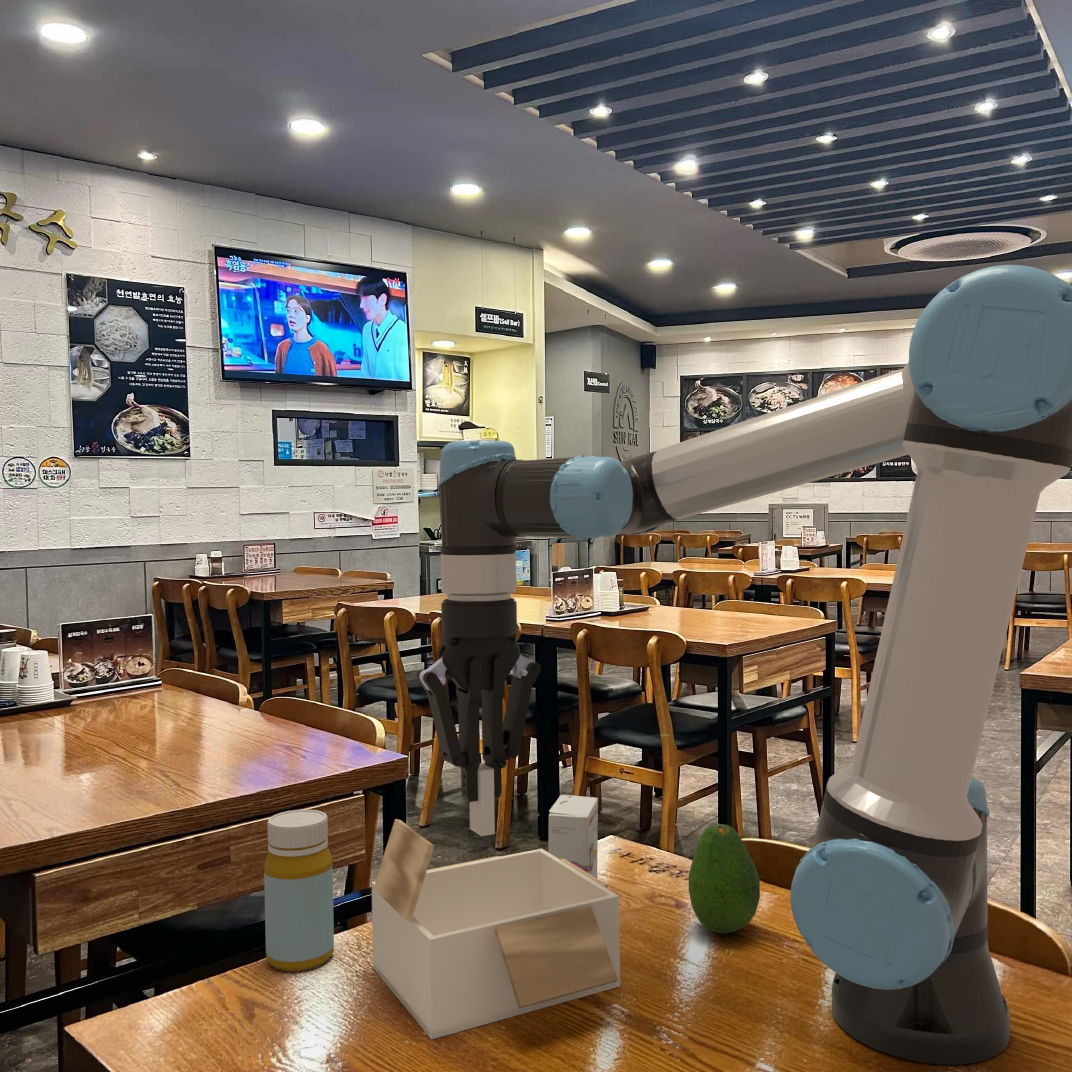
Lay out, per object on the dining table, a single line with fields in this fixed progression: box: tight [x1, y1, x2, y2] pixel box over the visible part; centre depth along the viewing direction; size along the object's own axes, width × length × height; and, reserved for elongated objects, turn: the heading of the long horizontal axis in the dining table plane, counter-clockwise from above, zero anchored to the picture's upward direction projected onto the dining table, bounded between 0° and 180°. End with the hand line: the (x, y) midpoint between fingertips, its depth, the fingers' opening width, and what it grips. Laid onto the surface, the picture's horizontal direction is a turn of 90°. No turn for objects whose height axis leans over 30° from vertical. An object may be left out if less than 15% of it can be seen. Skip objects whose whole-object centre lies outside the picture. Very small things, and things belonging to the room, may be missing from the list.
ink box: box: [547, 794, 599, 879], centre depth 119 cm, size 9×5×12 cm, turn 168°
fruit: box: [688, 823, 761, 935], centre depth 110 cm, size 8×8×12 cm
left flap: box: [374, 818, 435, 921], centre depth 95 cm, size 9×1×7 cm, turn 28°
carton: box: [371, 848, 621, 1040], centre depth 101 cm, size 17×21×9 cm
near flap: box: [495, 906, 618, 1009], centre depth 90 cm, size 1×10×7 cm
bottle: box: [263, 809, 335, 973], centre depth 105 cm, size 7×7×15 cm
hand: (482, 831), depth 99 cm, fingers closed
